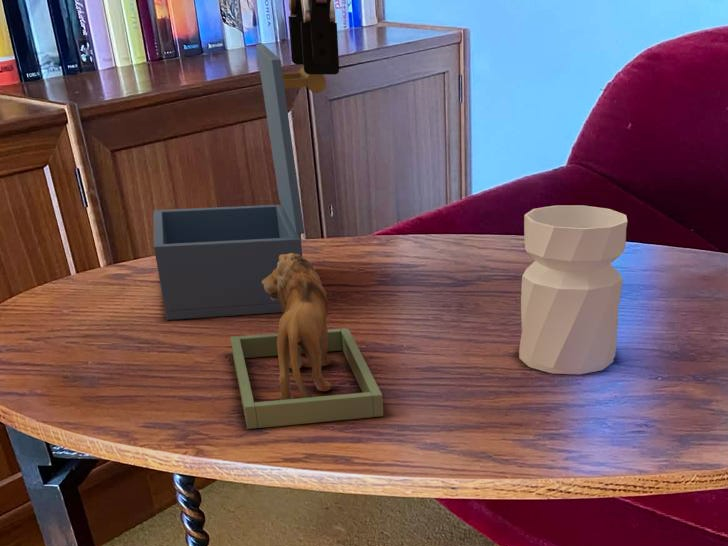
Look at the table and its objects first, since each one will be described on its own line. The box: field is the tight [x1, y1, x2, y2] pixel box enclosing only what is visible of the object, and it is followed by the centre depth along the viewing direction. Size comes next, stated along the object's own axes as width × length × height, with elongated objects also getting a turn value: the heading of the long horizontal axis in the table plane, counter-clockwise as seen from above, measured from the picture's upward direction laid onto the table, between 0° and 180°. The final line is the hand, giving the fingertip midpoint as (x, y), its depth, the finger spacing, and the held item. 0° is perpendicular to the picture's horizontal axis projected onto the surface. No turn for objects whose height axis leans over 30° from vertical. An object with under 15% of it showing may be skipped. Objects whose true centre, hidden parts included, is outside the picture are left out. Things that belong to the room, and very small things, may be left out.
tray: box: [229, 327, 384, 430], centre depth 81 cm, size 11×17×2 cm, turn 15°
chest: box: [153, 204, 304, 321], centre depth 100 cm, size 14×16×7 cm
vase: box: [518, 205, 628, 376], centre depth 84 cm, size 9×9×12 cm
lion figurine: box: [262, 253, 332, 400], centre depth 79 cm, size 15×5×9 cm, turn 14°
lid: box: [255, 43, 327, 235], centre depth 95 cm, size 15×16×5 cm
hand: (314, 68), depth 92 cm, fingers open, 9 cm apart
